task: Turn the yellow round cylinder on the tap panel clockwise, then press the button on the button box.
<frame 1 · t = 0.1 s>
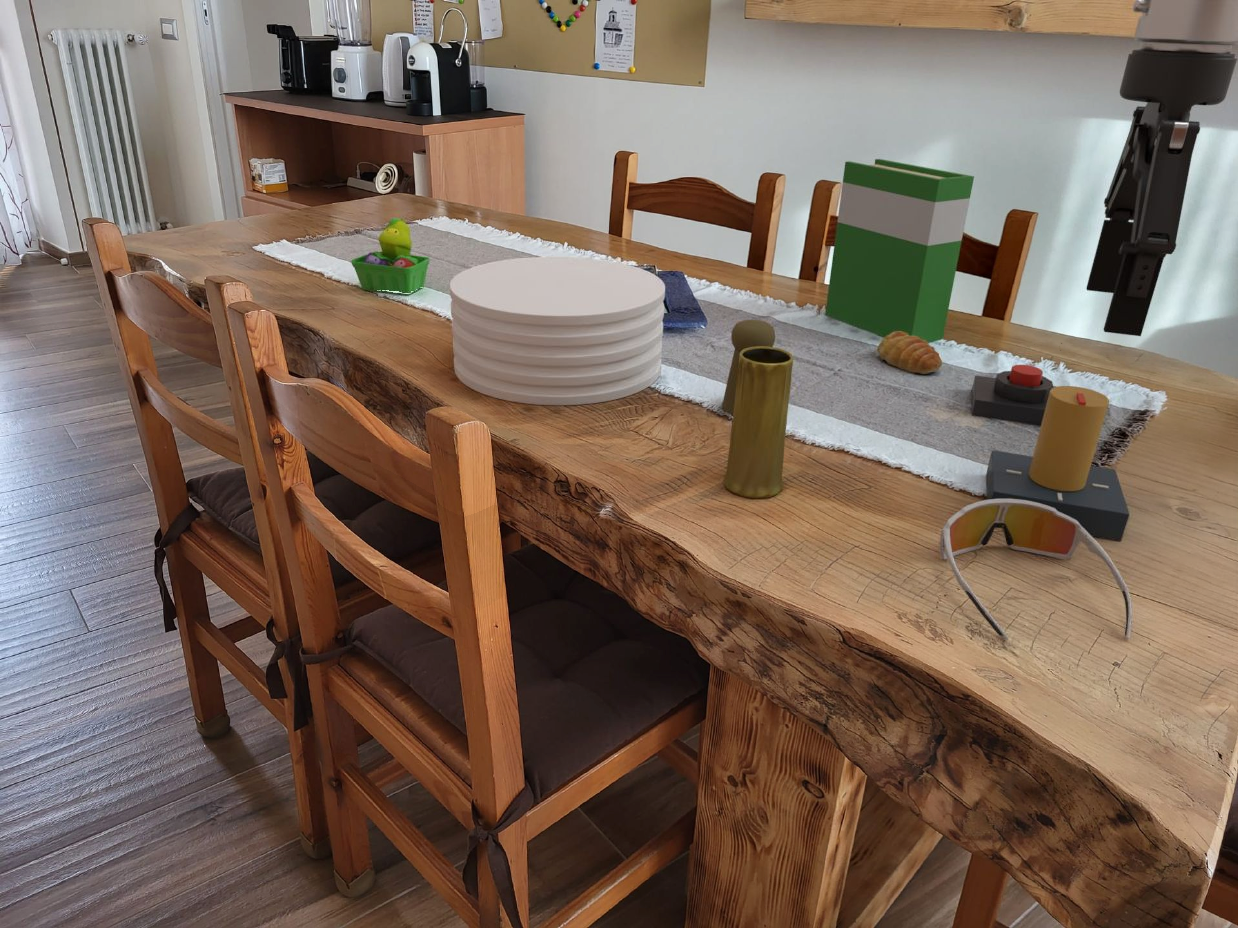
hand: (1111, 311, 81), 21 cm above the table, tool pointing down, fingers open, 13 cm apart
yellow round cylinder: (1068, 437, 89), point 8 cm above the table, hinge at 90.0°
button: (1025, 376, 113), point 4 cm above the table, slide at 0.1 cm
plate stack: (558, 367, 125), on the table
pastry: (908, 364, 129), on the table
pepper mill: (746, 409, 113), on the table
fruit basket: (395, 289, 156), on the table
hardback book: (881, 327, 144), on the table
button box: (1017, 409, 115), on the table
sunglasses: (1025, 590, 79), on the table
vase: (752, 486, 95), on the table
tap panel: (1049, 506, 92), on the table
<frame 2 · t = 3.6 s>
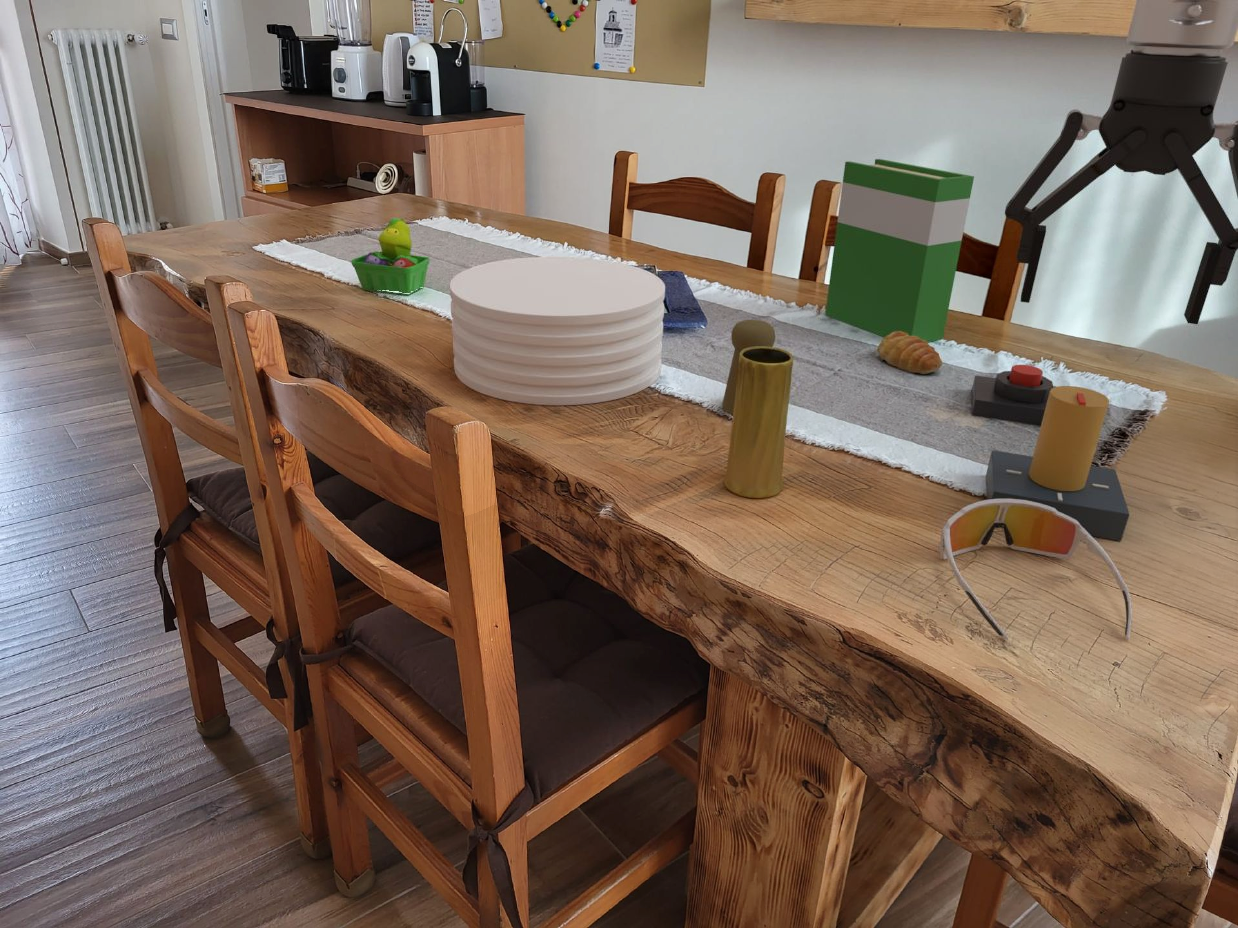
hand: (1105, 309, 83), 21 cm above the table, tool pointing down, fingers open, 13 cm apart
nothing on the table moved.
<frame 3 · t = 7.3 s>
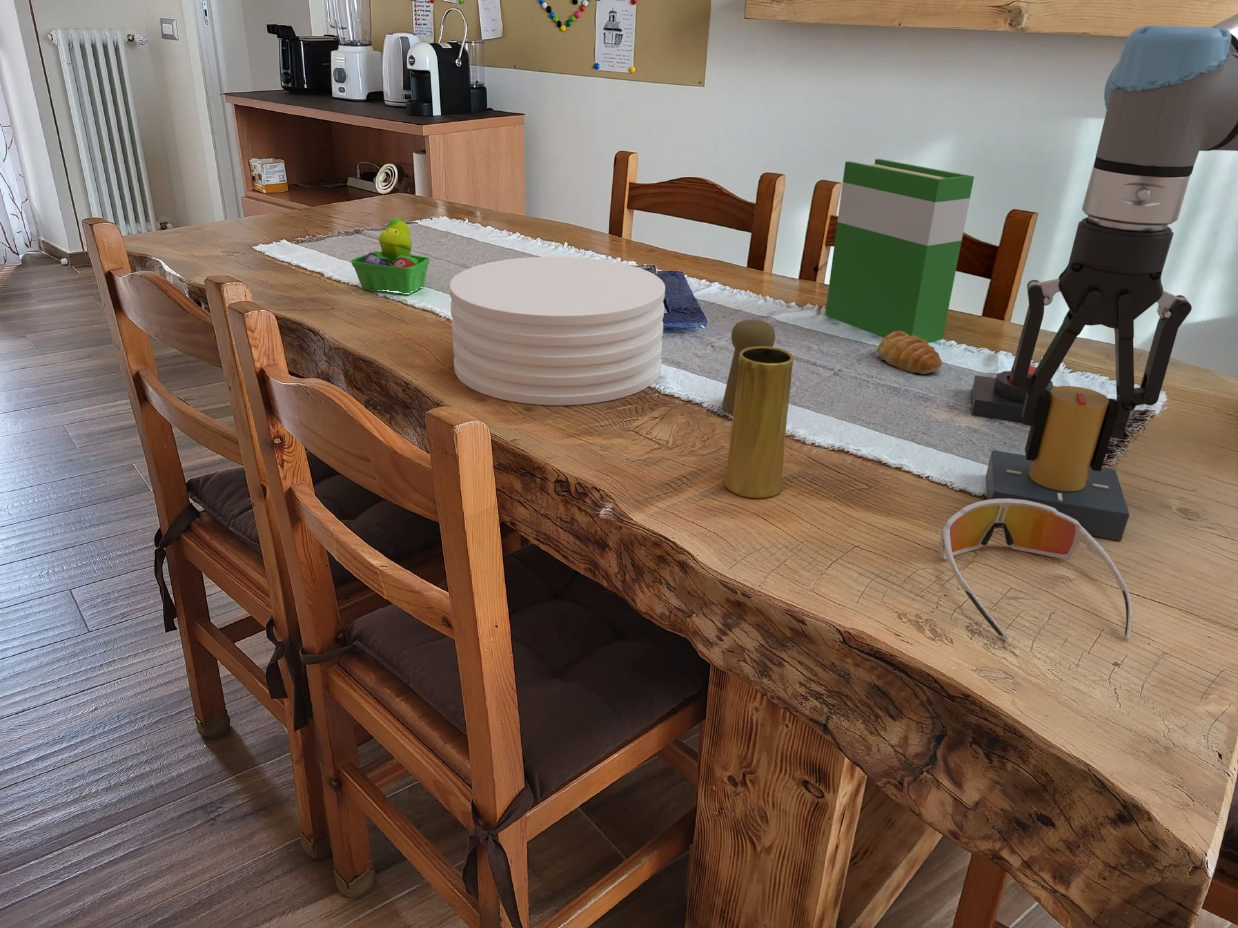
hand: (1061, 459, 90), 5 cm above the table, tool pointing down, fingers closed on yellow round cylinder, 5 cm apart
yellow round cylinder: (1068, 437, 89), point 8 cm above the table, hinge at 90.0°, touching gripper
everything else where it was.
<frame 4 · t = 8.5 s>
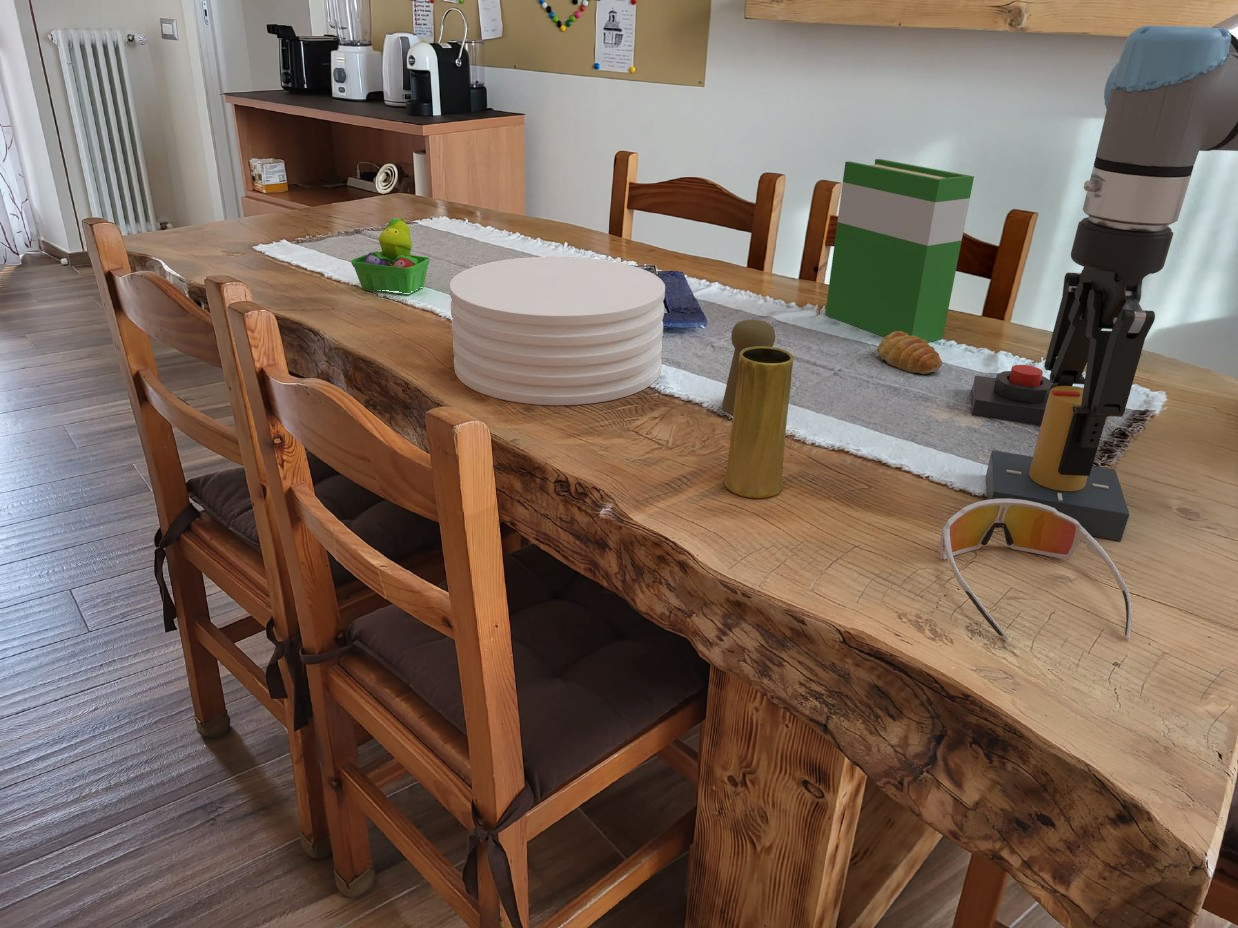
hand: (1061, 459, 90), 5 cm above the table, tool pointing down, fingers closed on yellow round cylinder, 5 cm apart
yellow round cylinder: (1068, 437, 89), point 8 cm above the table, hinge at 16.3°, touching gripper
everything else where it was.
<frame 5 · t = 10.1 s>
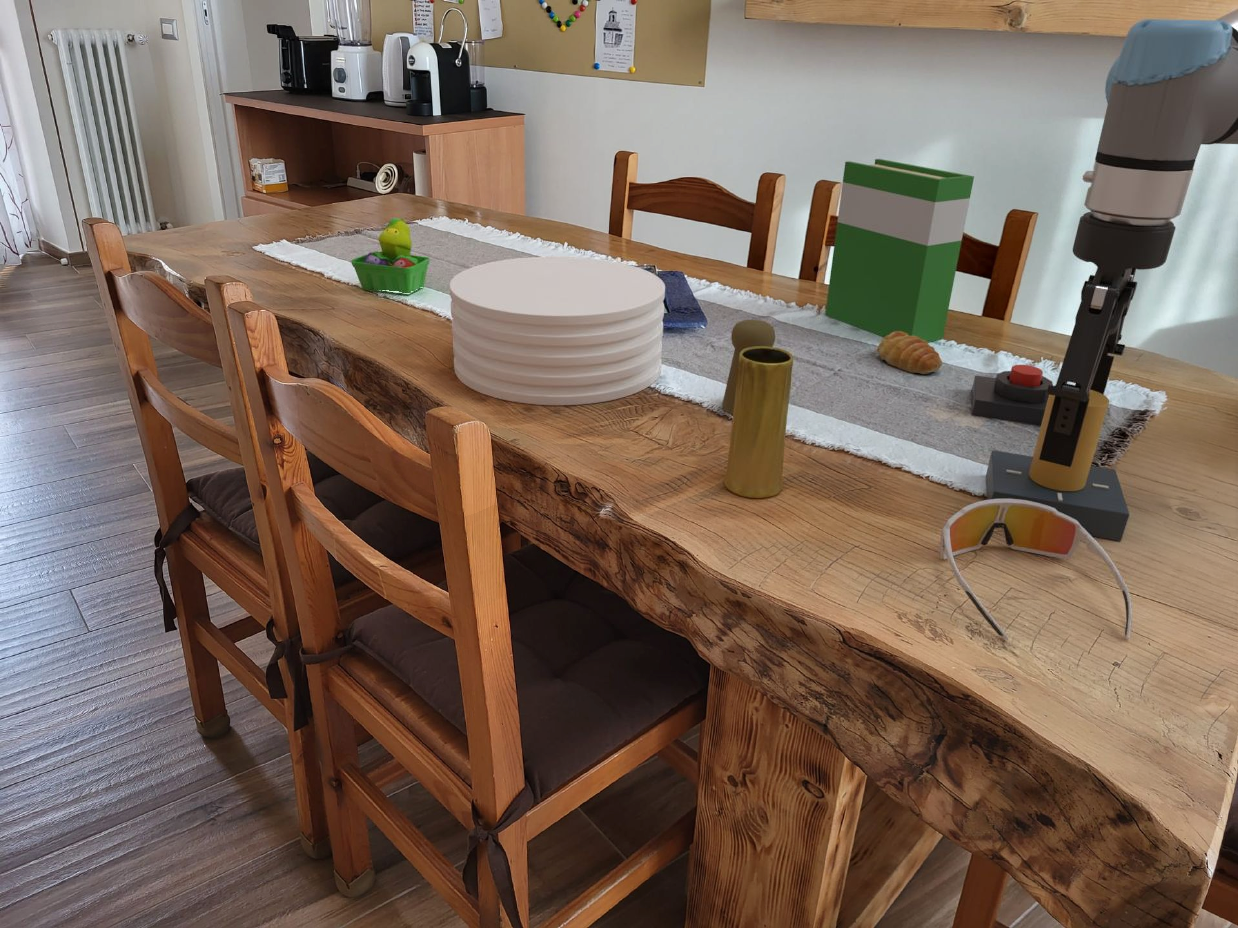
hand: (1069, 437, 89), 8 cm above the table, tool pointing down, fingers open, 13 cm apart
yellow round cylinder: (1068, 437, 89), point 8 cm above the table, hinge at -12.5°
everything else where it was.
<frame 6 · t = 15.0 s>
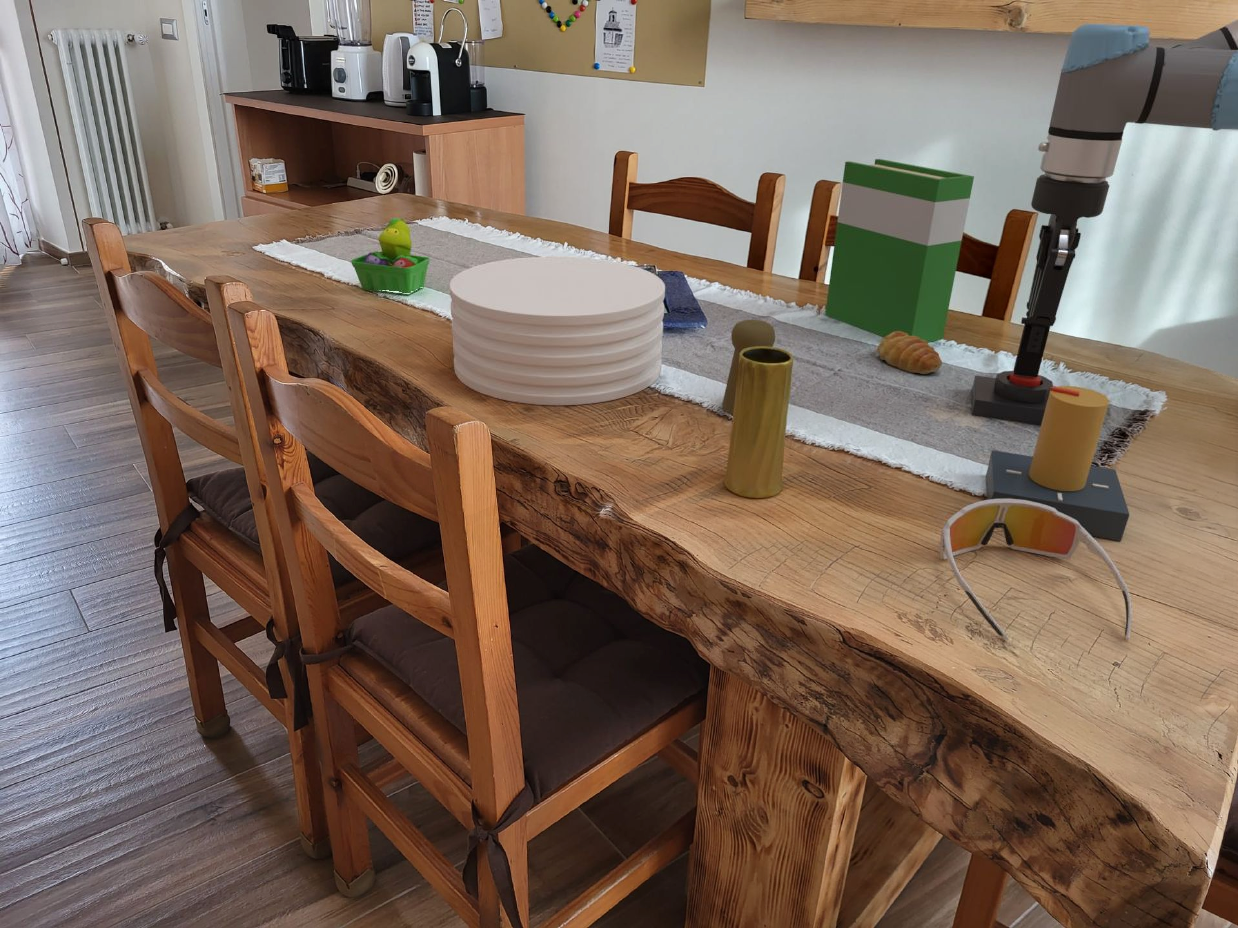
hand: (1025, 373, 113), 5 cm above the table, tool pointing down, fingers closed
button: (1024, 382, 113), point 4 cm above the table, slide at -0.7 cm, touching gripper
everything else where it was.
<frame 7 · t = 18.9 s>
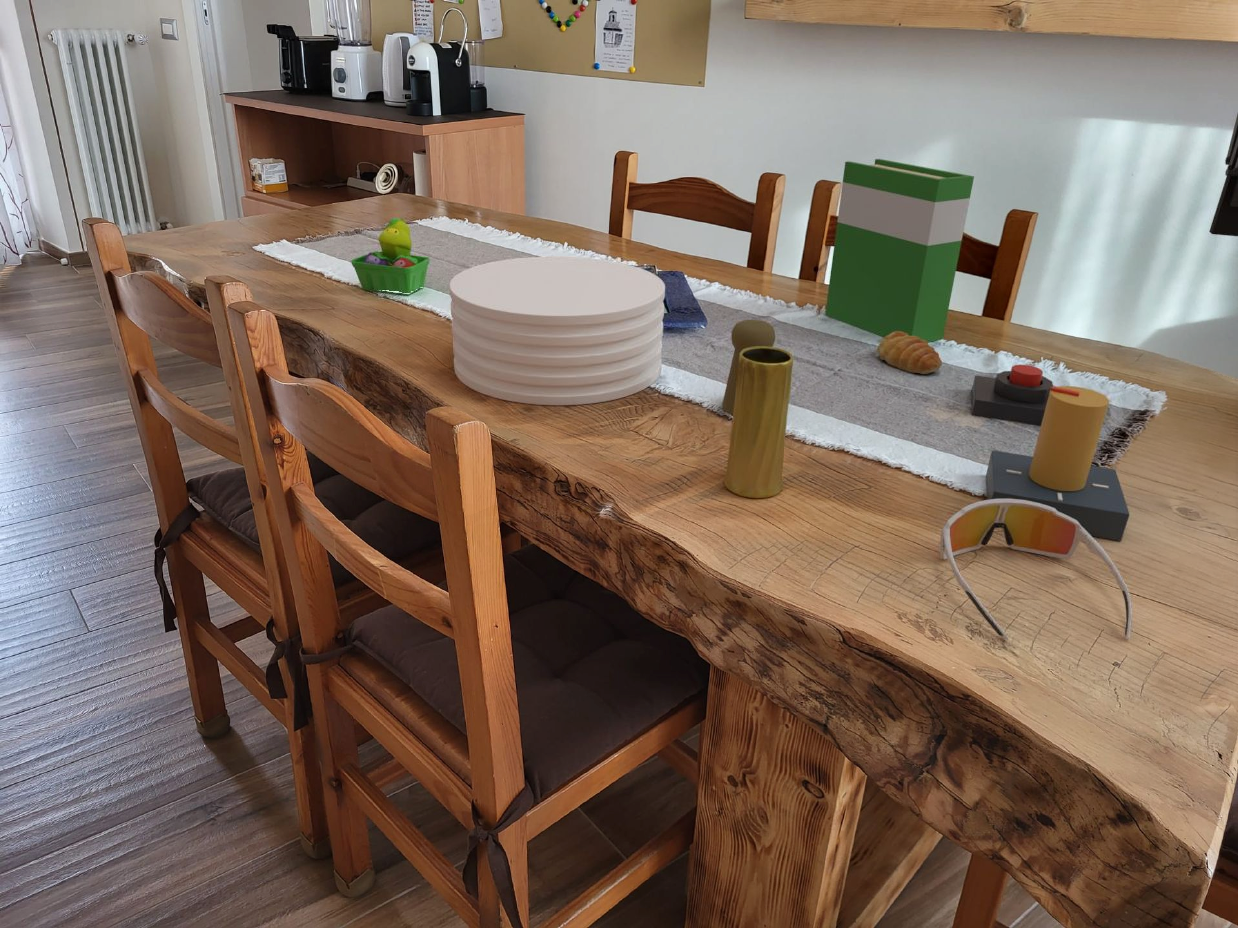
hand: (1223, 234, 106), 22 cm above the table, tool pointing down, fingers closed
button: (1025, 376, 113), point 4 cm above the table, slide at 0.1 cm
everything else where it was.
at the end: yellow round cylinder at -12° (first picture: +90°); button pushed in 1.0 cm at the most during the clip, back to where it started at the end; button slide at 0.1 cm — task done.
